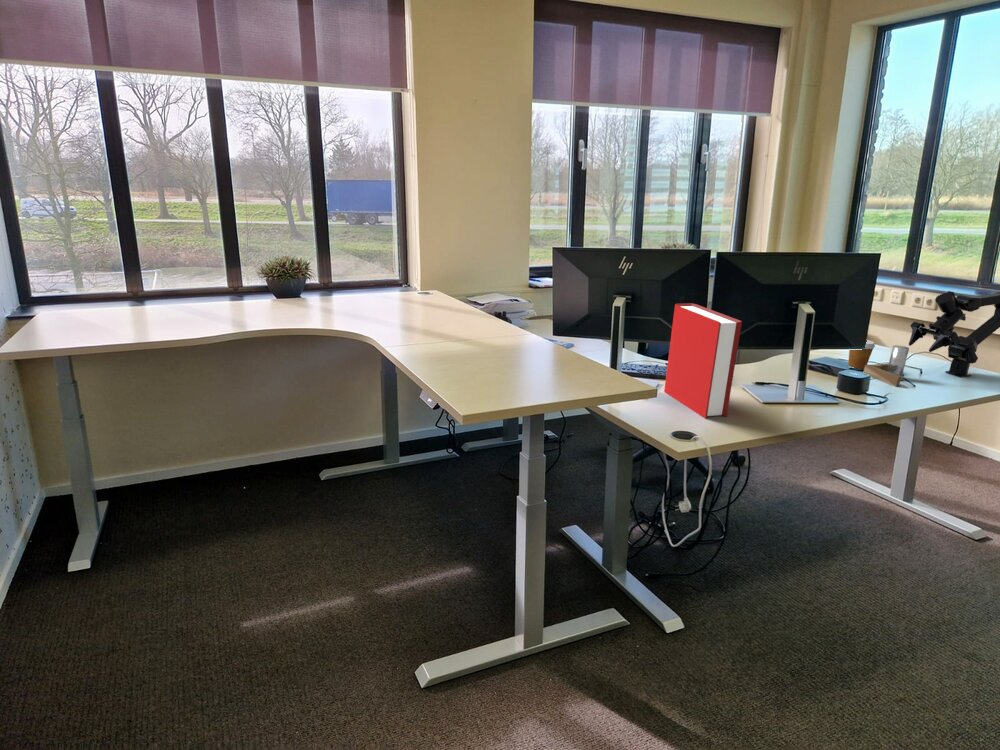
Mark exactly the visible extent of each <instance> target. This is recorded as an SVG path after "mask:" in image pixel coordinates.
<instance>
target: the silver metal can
mask: <svg viewBox="0 0 1000 750" xmlns="http://www.w3.org/2000/svg"><path fill="white" fill-rule="evenodd" d="M909 350H910V348H909V347H908V346H904V345H897V344H896V345H894V344H893V345H892V349H891V352H890V356H889V362H888V363H887V364H888V368H887V372H890V373H893V374H896V375H898V376H901V381H900V382H902V381H903V379H904V378H903V376H904V375H903V374H904V370H905V367H906V362H907V359H908V354H909Z"/></svg>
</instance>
